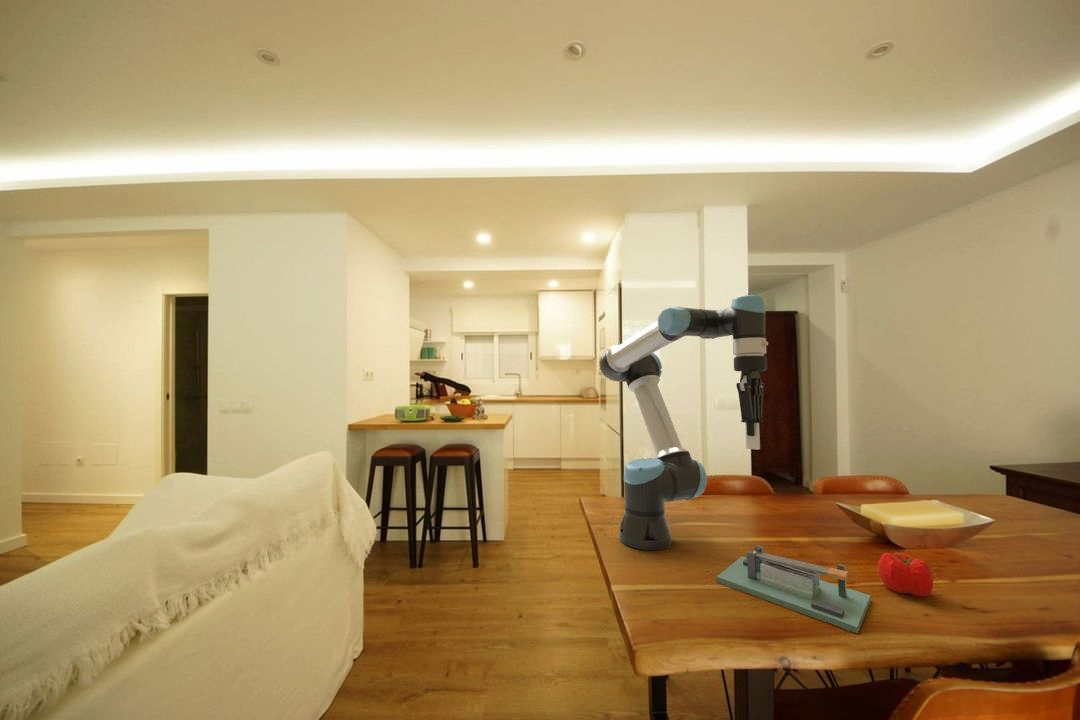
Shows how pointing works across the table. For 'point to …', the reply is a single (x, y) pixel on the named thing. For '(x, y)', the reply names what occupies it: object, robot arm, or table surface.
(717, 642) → the table surface
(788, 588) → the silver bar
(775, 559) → the silver flat strip
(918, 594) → the tomato
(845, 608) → the board
